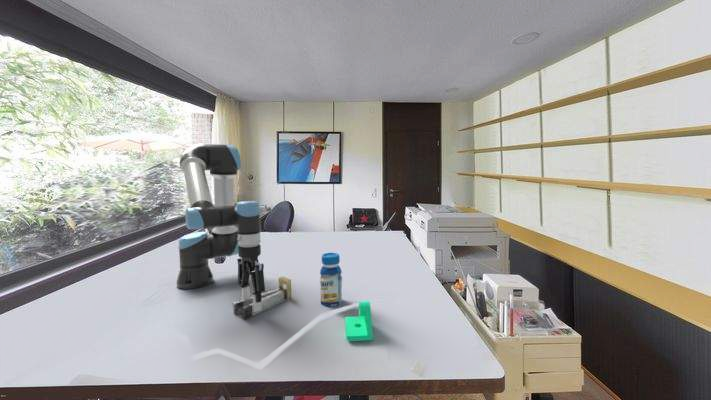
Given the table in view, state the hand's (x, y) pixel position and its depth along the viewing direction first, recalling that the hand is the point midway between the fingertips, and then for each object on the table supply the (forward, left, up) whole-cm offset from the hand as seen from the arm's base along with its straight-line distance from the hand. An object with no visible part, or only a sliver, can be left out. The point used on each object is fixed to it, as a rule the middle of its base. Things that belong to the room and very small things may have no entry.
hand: (251, 307), depth 106 cm
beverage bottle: (+17, +24, -3) cm, 29 cm away
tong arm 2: (+2, +4, -2) cm, 5 cm away
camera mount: (+37, +15, -3) cm, 40 cm away
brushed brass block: (0, +15, -2) cm, 15 cm away
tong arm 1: (-2, +4, -2) cm, 5 cm away
